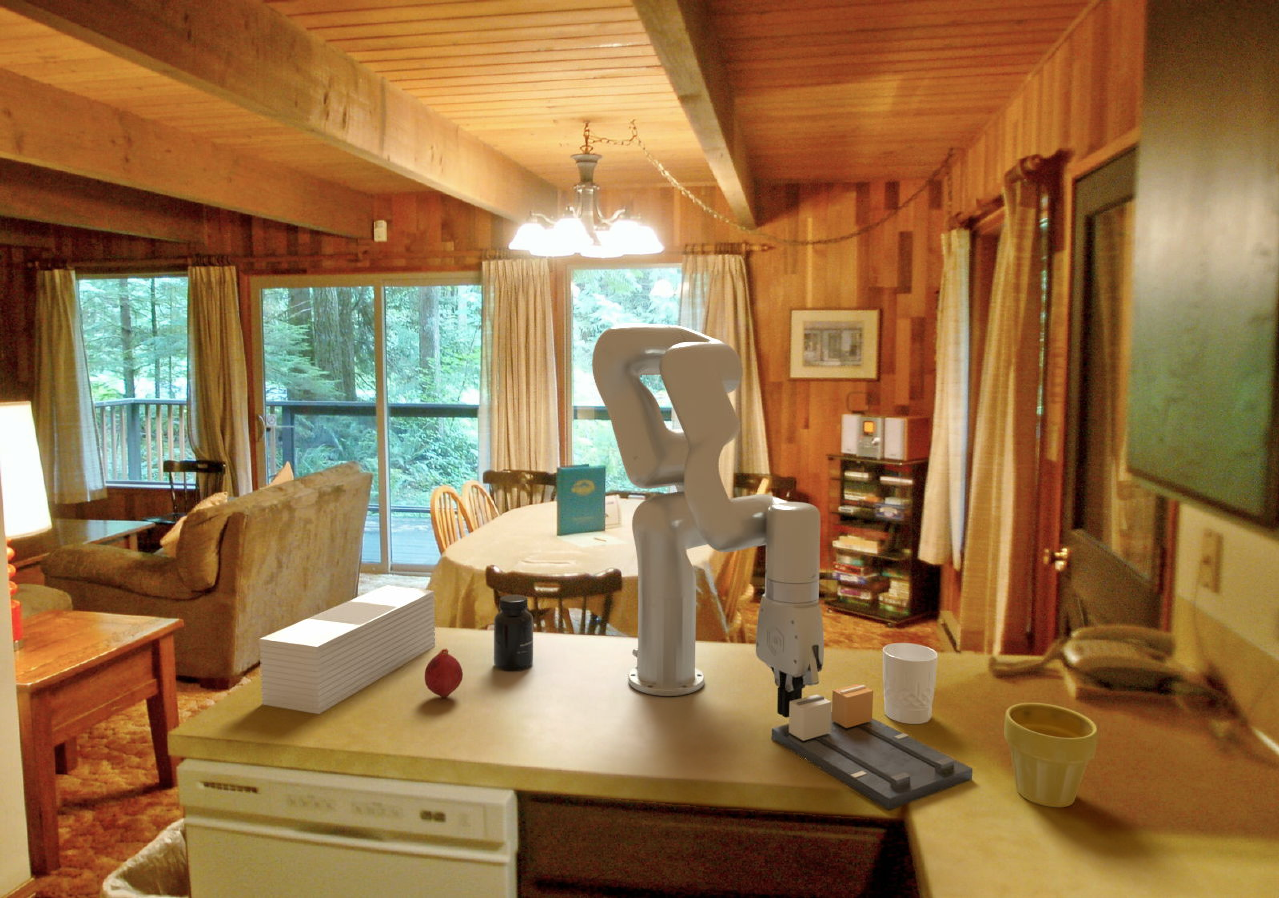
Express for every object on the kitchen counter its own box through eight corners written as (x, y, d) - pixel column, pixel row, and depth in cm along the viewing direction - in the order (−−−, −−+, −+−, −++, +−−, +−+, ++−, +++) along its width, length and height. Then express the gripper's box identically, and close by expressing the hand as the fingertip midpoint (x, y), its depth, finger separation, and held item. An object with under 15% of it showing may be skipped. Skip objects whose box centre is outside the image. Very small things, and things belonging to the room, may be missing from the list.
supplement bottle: (530, 672, 145) (529, 603, 144) (490, 671, 145) (489, 603, 144) (535, 657, 152) (535, 592, 150) (497, 657, 152) (497, 592, 151)
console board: (771, 738, 120) (771, 720, 120) (849, 716, 128) (850, 699, 128) (888, 810, 101) (889, 788, 101) (971, 779, 109) (973, 759, 109)
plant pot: (1112, 811, 102) (1118, 733, 100) (1037, 820, 99) (1041, 741, 98) (1053, 770, 112) (1058, 698, 111) (983, 777, 109) (987, 705, 108)
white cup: (938, 728, 124) (941, 662, 123) (882, 723, 125) (885, 658, 124) (931, 706, 132) (933, 644, 130) (878, 702, 133) (880, 641, 132)
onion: (436, 708, 130) (434, 657, 129) (418, 696, 134) (417, 647, 133) (469, 698, 134) (468, 649, 133) (451, 687, 138) (450, 639, 137)
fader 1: (788, 732, 119) (789, 699, 118) (815, 724, 121) (816, 692, 120) (803, 740, 116) (804, 706, 115) (830, 732, 118) (831, 699, 118)
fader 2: (831, 719, 123) (832, 688, 122) (857, 712, 125) (858, 681, 125) (846, 727, 120) (847, 695, 119) (872, 720, 122) (873, 688, 122)
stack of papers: (319, 715, 128) (316, 646, 127) (262, 705, 131) (259, 638, 130) (435, 646, 158) (434, 590, 157) (386, 640, 161) (385, 585, 160)
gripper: (738, 581, 125) (737, 701, 127) (807, 606, 112) (804, 739, 114) (778, 574, 129) (776, 691, 130) (849, 598, 116) (845, 727, 118)
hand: (789, 713), depth 122 cm, fingers closed
